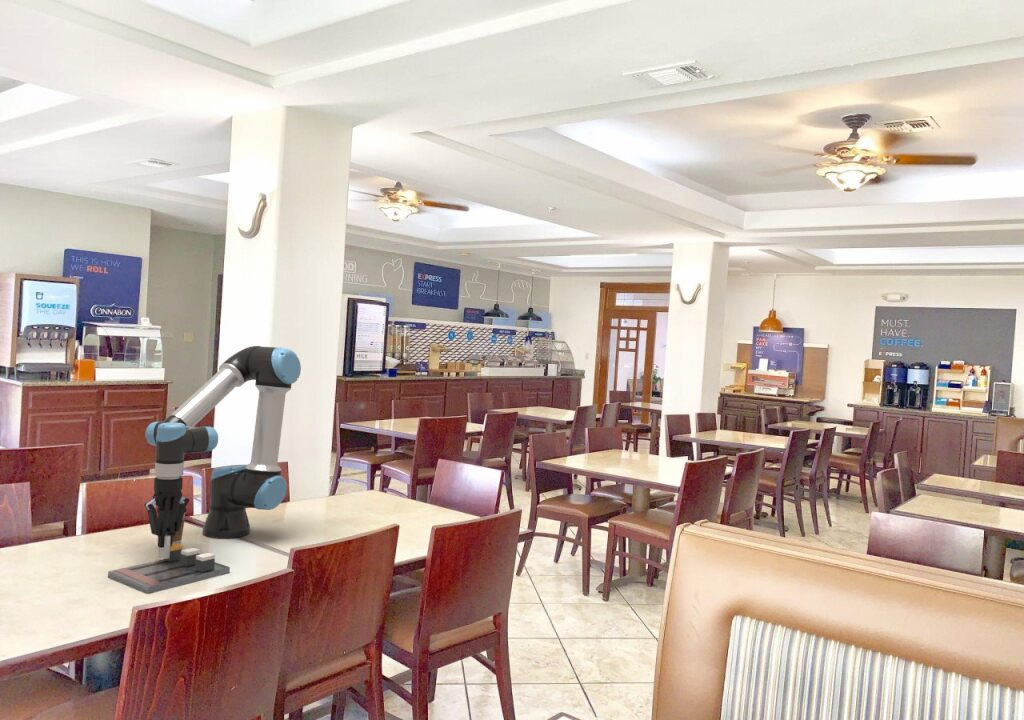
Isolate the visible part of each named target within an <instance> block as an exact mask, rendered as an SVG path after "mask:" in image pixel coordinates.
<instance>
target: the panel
mask: <svg viewBox="0 0 1024 720" xmlns="http://www.w3.org/2000/svg"><path fill="white" fill-rule="evenodd" d="M180 561H181V559H179V560H175V561H170V562H169V561H166V560H164V559H163V558H162V559H159V560H155V561H150V562H145V563H141V564H137V565H132V566H127V567H122V568H118V569H114V570H109V571H108V572H107V578H108V579H111V580H114V581H116V582H118V583H121V584H123V585H125V586H128V587H131V588H133V589H135V590H138V591H140V592H143V593H145V594H147V595H148V594H152V593H156V592H159V591H164V590H168V589H171V588H172V589H173V588H176V587H178V586H179V587H180V586H182V585H188V584H190V583H195V582H198V581H203V580H206V579H210V578H215V577H218V576H222V575H226V574H229V573H231V572H230V570H231V567H230V566H229V565H228V566H227V565H225V564H222V563H219V562H215V564H214V569H211V570H207V571H203V572H201V571H198V570H195V565H196V564H195V565H190V566H184V565H181V564H180Z"/></svg>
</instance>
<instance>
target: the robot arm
mask: <svg viewBox="0 0 1024 720" xmlns="http://www.w3.org/2000/svg"><path fill="white" fill-rule="evenodd" d="M301 369H302V365H301V362H300V358H299V357H298V355H297V353H296V352H295V351H293V350H291V349H289V348H284V347H276V346H275V347H273V346H272V347H271V346H261V345H252V346H248V347H245V348H243V349H242V350H239V351H237V352H235V353H234V354H232V355H231V356H230V357H229V358H227V359H226V360H225V361H224V362H223V363H221V364H220V365H219V368H218V371H216V373H215V374H214V375H213V376H212V377H210V378H209V379H208V380H207V381H206V382H204V383H203V385H202V386H201V387H199V388H198V389H197V390H196V391H195V392H194V393H193V394H192V395H190V397H189V398H187V399H186V400H185V401H184V402H183V403H182V404H181V405H180V406H179V407H177V408H176V409H175V410H174V411H173V412H172V413H171V414H169V416H167V417H166V418H165V419H164V420H163V421H161V420H160V421H154V422H151V423H150V424H149V425H148V426H147V427H146V429H145V433H144V434H145V435H144V436H145V440H146V442H147V443H148V444H149V445H151V446H155V465H154V476H155V477H154V479H153V480H154V481H153V491H154V493H153V496H152V500H150V501H149V502H145V503H144V505H143V506H144V508H145V509H146V511H147V516H148V517H147V518H148V521H149V528H150V531H151V534H152V535H155V536H157V547H158V548H159V547H160V552H159V551H158V552H159V556H158V557H159V558H161V559H162V560H163V559H168V558H169V557H170V546H172V543H173V536H174V535H175V534H176V533H175V532H179V531H180V527H181V523H182V520H183V516H184V512H185V508H186V509H187V506H188V504H189V502H190V499H189V498H187V497H185V496H183V493H182V490H183V477H182V476H184V467H185V466H184V465H185V464H184V462H185V455H189V454H190V455H191V454H198V453H207V452H210V451H213V450H215V449H216V447H217V446H218V444H219V434H218V432H217V430H216V429H215V428H214V427H212V426H204V425H203V426H199V427H198V426H197V427H196V425H197V424H198V423H200V421H202V420H203V419H204V418H205V416H207V414H209V413H210V412H212V410H213V409H214V408H215V407H216V406H218V404H219V403H220V402H221V401H222V400H223V399H224V398H226V397H227V396H228V395H229V394H230V393H231V392H233V390H234V389H235V388H239V387H242V386H243V385H244V384H245V383H246V382H248V381H255V384H254V385H255V387H256V389H257V390H258V399H257V406H256V408H257V409H256V416H255V425H254V432H253V441H252V449H251V456H250V457H251V458H250V462H249V464H247V465H246V464H230V465H221V466H216V467H215V468H213V470H212V472H211V478H210V491H209V497H210V498H209V511H208V514H207V516H206V519H205V521H204V524H203V527H202V535H203V536H206V537H207V538H208V537H209V538H212V539H213V538H214V539H235V538H241V537H244V536H248V535H249V534H250V531H251V524H250V522H249V517H248V514H247V510H246V509H247V508H252V509H257V510H260V511H261V510H265V511H270V510H274V509H276V508H277V507H278V506H280V504H281V503H282V502H283V501H284V499H285V497H286V494H287V489H288V484H287V482H286V479H285V478H284V476H282V468H281V467H280V466H279V464H278V463H279V453H280V445H281V436H282V428H283V420H284V419H283V418H284V412H285V402H286V394H287V393H288V392H290V390H291V389H292V385H293V384H295V383H296V382H297V381H298V379H299V378H300V375H301V371H302V370H301ZM178 502H179V503H178ZM177 504H178V505H177ZM156 508H157V509H156ZM176 508H177V509H176ZM157 511H158V513H157ZM185 513H186V512H185ZM184 517H185V516H184Z"/></svg>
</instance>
